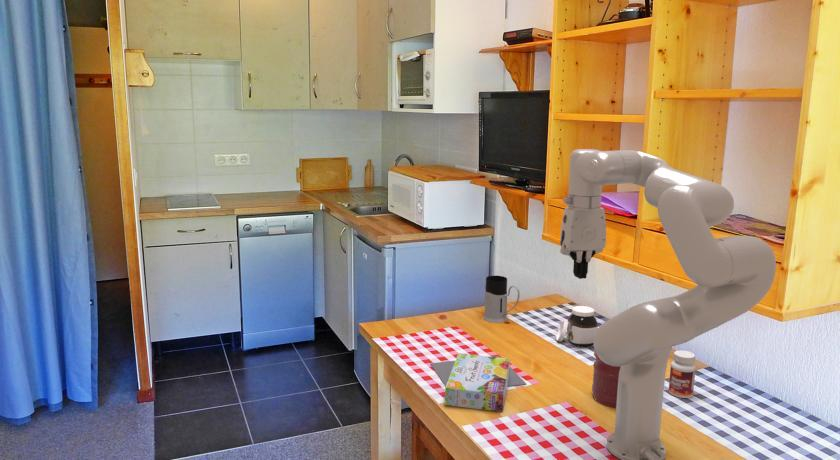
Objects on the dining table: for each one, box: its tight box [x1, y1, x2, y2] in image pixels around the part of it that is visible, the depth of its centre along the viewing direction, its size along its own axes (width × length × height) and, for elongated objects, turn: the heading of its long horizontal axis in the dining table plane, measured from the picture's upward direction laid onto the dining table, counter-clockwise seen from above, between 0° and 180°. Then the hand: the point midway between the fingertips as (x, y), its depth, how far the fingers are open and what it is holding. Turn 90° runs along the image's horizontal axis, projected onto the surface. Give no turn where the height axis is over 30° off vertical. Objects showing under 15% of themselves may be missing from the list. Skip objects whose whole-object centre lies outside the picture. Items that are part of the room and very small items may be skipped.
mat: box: [429, 355, 527, 388], centre depth 182 cm, size 20×22×1 cm
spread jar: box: [555, 305, 599, 348], centre depth 205 cm, size 12×11×12 cm
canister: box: [591, 351, 621, 408], centre depth 166 cm, size 13×13×18 cm
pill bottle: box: [668, 350, 697, 399], centre depth 169 cm, size 6×6×11 cm
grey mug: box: [482, 275, 520, 324], centre depth 225 cm, size 9×14×15 cm, turn 46°
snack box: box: [444, 352, 511, 413], centre depth 170 cm, size 21×6×15 cm
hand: (580, 277), depth 153 cm, fingers closed
